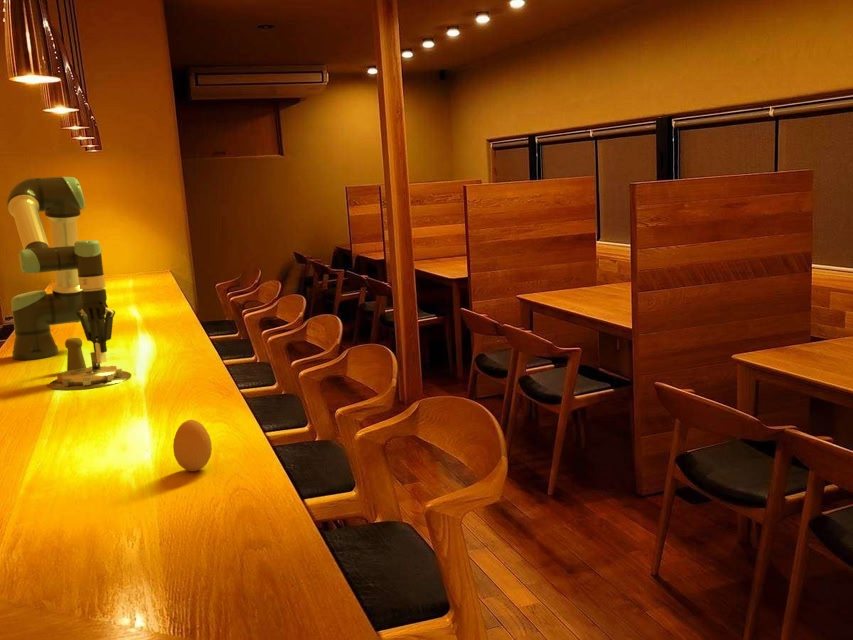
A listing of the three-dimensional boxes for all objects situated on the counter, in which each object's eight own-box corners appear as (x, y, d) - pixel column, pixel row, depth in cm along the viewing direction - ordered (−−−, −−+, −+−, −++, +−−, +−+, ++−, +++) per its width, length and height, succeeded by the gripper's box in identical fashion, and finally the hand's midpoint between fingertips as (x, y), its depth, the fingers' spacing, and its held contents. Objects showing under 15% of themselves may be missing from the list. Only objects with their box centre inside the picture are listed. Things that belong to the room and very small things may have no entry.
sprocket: (48, 387, 240) (45, 365, 239) (71, 373, 258) (68, 352, 257) (111, 384, 241) (108, 361, 240) (129, 370, 259) (127, 349, 258)
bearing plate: (30, 388, 242) (30, 387, 242) (84, 370, 264) (83, 368, 264) (98, 391, 235) (97, 389, 235) (146, 371, 258) (146, 370, 258)
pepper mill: (90, 369, 265) (86, 337, 263) (74, 373, 260) (70, 340, 258) (79, 368, 268) (75, 336, 266) (63, 372, 263) (59, 339, 261)
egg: (198, 478, 160) (193, 427, 158) (167, 475, 163) (162, 424, 161) (221, 465, 167) (216, 416, 165) (191, 462, 170) (186, 413, 168)
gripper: (67, 291, 249) (77, 364, 253) (102, 290, 246) (111, 365, 250) (83, 287, 256) (92, 359, 260) (117, 287, 253) (126, 359, 257)
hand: (102, 362), depth 255 cm, fingers closed
